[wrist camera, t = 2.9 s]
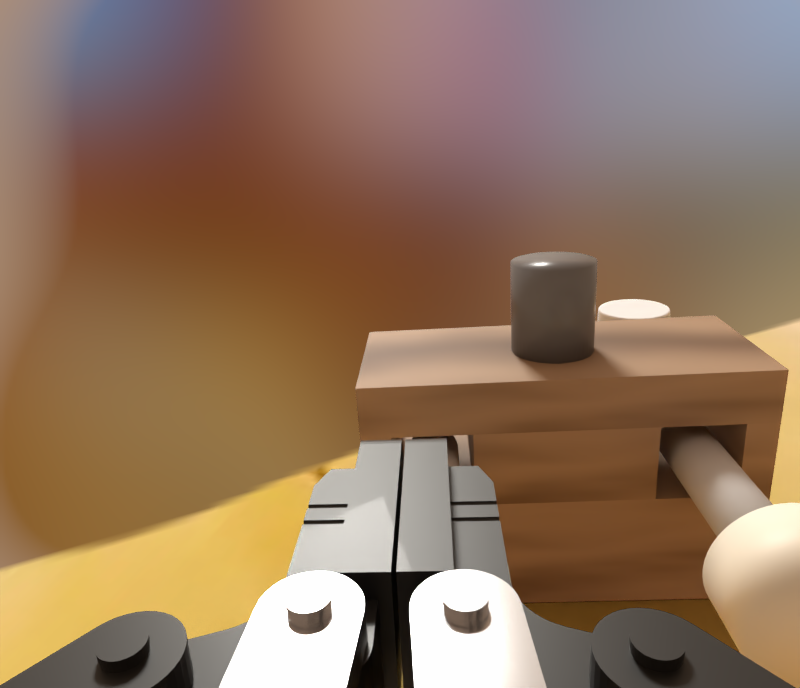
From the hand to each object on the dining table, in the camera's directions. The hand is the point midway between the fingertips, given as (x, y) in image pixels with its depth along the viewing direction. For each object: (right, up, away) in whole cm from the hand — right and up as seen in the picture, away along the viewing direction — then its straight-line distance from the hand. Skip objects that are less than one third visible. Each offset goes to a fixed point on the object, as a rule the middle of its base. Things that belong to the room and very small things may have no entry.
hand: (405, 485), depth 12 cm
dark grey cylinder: (+7, +2, +18) cm, 19 cm away
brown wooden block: (+7, -8, +21) cm, 24 cm away
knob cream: (+12, -6, +13) cm, 19 cm away
